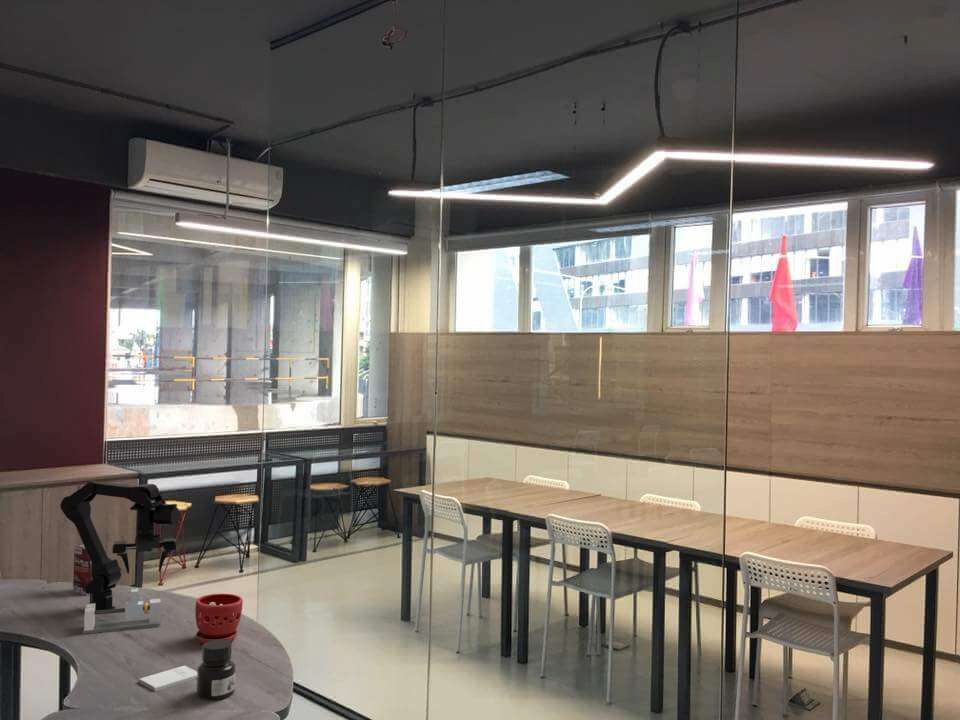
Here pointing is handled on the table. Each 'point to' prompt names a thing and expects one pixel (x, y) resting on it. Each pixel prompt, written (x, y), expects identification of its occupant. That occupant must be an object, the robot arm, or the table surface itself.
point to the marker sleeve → (134, 605)
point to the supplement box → (81, 569)
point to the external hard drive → (168, 678)
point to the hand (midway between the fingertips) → (144, 572)
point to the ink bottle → (216, 671)
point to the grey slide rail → (118, 625)
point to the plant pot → (218, 617)
